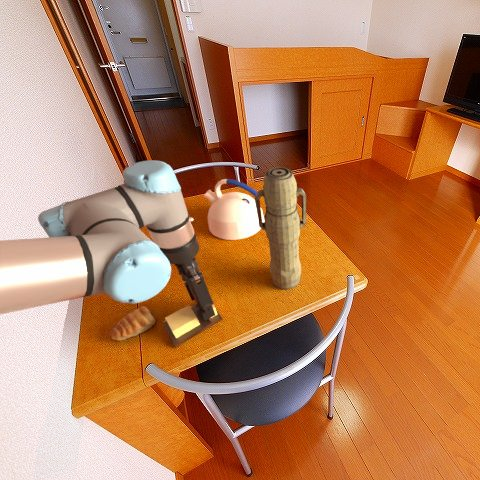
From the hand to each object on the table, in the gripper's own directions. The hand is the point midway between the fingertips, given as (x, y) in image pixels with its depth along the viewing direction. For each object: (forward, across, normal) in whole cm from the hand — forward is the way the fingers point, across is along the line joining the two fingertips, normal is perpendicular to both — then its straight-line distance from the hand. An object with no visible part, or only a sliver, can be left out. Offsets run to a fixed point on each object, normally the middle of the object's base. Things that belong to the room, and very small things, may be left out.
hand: (203, 306), depth 70 cm
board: (+4, 0, +3) cm, 5 cm away
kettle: (+4, +31, -26) cm, 40 cm away
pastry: (+4, +8, +14) cm, 17 cm away
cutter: (+3, 0, 0) cm, 3 cm away
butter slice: (+3, 0, -1) cm, 3 cm away
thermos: (+4, -3, -24) cm, 24 cm away
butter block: (+3, 0, +5) cm, 6 cm away
